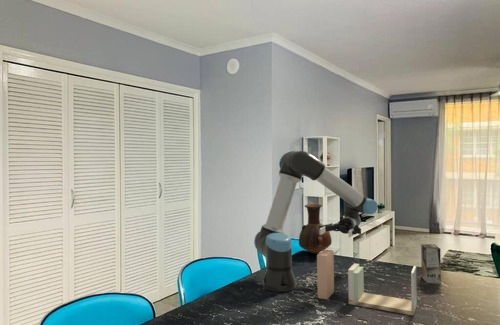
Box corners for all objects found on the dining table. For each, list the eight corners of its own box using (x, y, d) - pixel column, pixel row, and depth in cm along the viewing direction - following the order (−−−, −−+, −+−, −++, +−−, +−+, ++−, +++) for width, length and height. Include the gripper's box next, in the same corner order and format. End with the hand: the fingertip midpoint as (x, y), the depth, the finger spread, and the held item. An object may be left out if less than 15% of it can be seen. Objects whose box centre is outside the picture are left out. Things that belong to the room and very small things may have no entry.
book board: (348, 303, 145) (348, 299, 145) (355, 294, 155) (355, 291, 155) (413, 315, 133) (413, 311, 133) (416, 305, 143) (416, 301, 143)
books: (348, 299, 146) (348, 269, 145) (354, 291, 154) (354, 263, 154) (358, 301, 144) (357, 271, 144) (363, 292, 152) (363, 264, 152)
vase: (292, 250, 232) (292, 203, 232) (321, 247, 237) (321, 202, 237) (307, 260, 208) (307, 208, 208) (339, 257, 213) (338, 206, 213)
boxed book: (317, 297, 152) (316, 254, 152) (325, 290, 161) (324, 249, 161) (326, 299, 150) (326, 256, 150) (334, 291, 159) (333, 250, 159)
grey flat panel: (411, 310, 134) (411, 272, 134) (414, 301, 143) (413, 265, 143) (413, 311, 134) (413, 273, 133) (416, 301, 142) (416, 266, 142)
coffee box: (441, 283, 166) (441, 248, 166) (426, 283, 167) (425, 248, 167) (435, 277, 175) (435, 244, 175) (421, 276, 176) (420, 243, 176)
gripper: (372, 234, 178) (362, 243, 160) (323, 230, 191) (308, 238, 172) (372, 219, 178) (362, 226, 160) (322, 216, 191) (308, 223, 172)
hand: (334, 233), depth 166 cm, fingers open, 13 cm apart
